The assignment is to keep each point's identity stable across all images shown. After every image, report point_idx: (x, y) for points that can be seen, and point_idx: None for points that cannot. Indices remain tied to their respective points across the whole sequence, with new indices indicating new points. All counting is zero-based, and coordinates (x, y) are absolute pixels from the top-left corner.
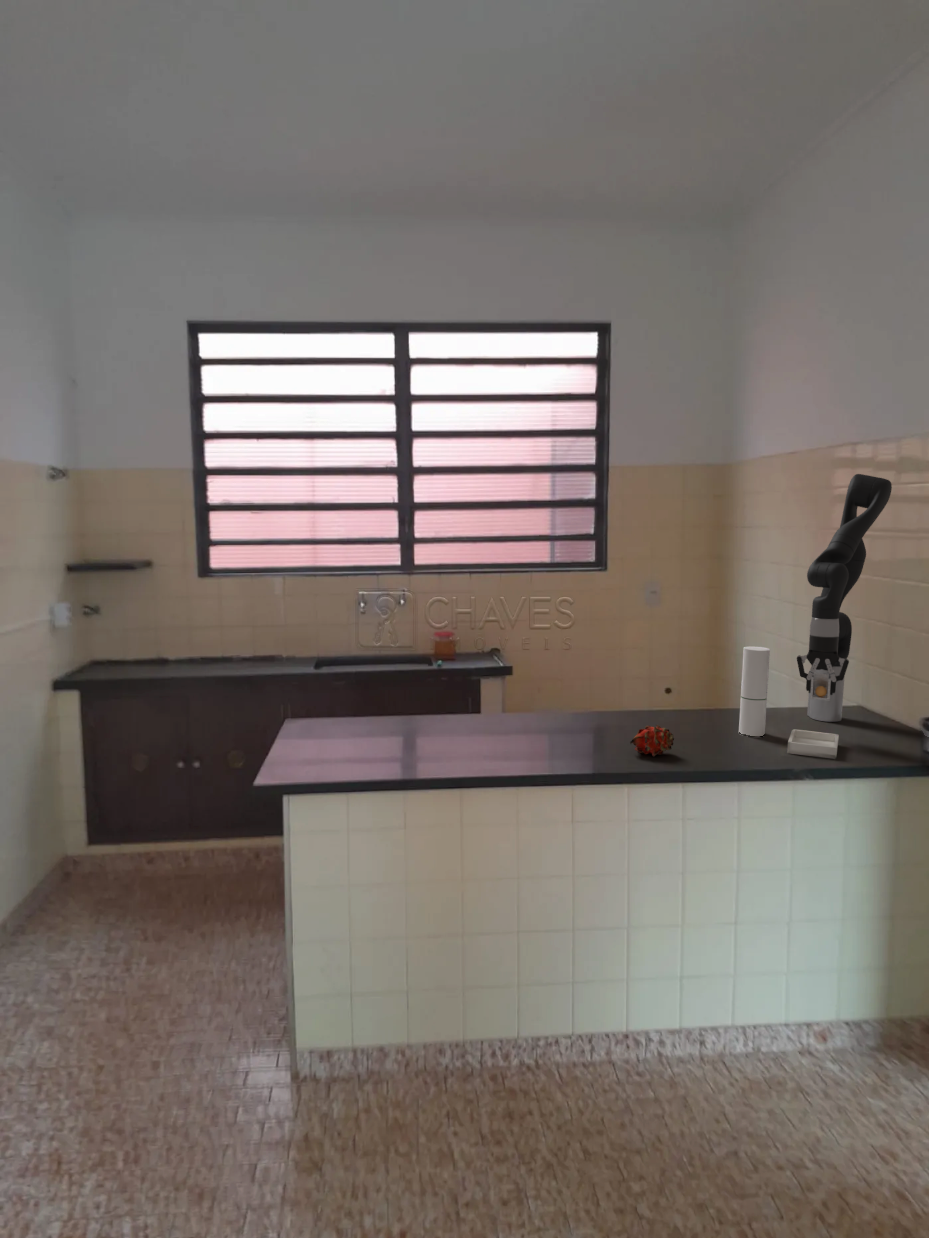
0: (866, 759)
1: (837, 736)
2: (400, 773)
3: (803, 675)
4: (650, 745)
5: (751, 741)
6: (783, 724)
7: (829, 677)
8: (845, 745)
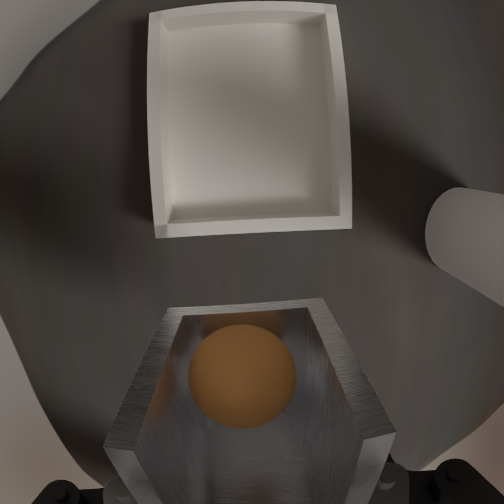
0: (72, 91)
1: (155, 195)
2: None
3: (444, 477)
4: None
5: (449, 127)
6: None
7: None
8: (143, 238)
